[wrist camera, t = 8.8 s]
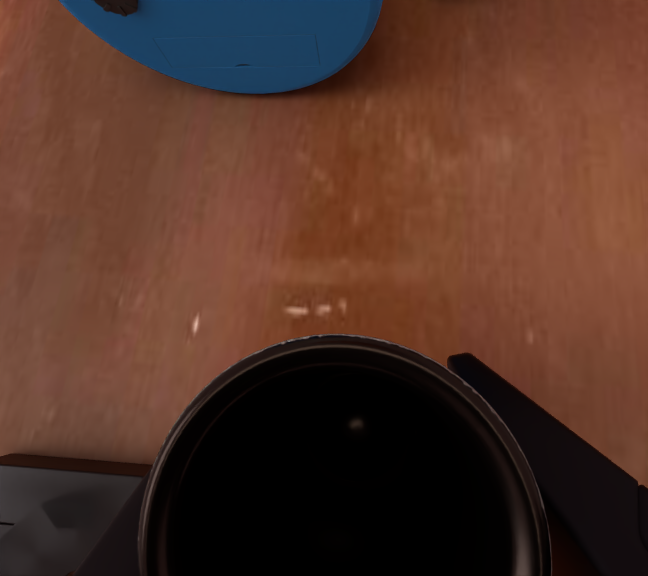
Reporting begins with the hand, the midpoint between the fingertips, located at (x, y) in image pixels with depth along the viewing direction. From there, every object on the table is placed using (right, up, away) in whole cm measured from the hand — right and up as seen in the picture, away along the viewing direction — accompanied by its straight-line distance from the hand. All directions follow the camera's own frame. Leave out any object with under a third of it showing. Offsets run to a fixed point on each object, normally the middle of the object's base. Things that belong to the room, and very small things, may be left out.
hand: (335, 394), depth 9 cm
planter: (+1, -3, +6) cm, 7 cm away
